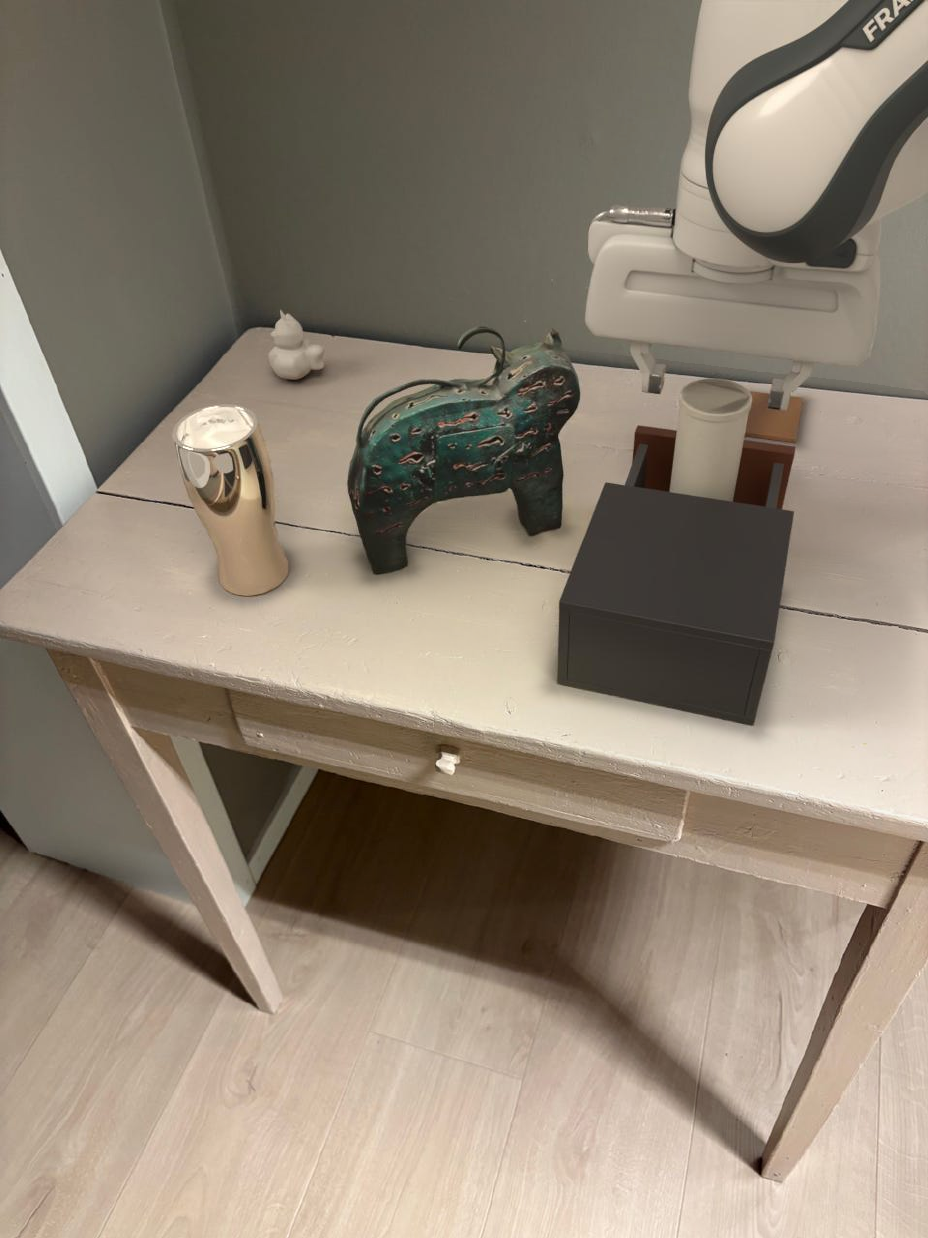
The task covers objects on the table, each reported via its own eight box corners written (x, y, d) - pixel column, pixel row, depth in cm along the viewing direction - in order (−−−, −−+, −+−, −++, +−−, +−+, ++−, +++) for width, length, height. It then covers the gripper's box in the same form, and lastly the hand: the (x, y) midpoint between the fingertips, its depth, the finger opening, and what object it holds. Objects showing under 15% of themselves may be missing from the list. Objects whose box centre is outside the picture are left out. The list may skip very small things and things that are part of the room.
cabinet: (600, 563, 83) (605, 481, 77) (774, 594, 79) (794, 510, 73) (556, 684, 73) (558, 601, 67) (753, 726, 69) (774, 642, 63)
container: (732, 515, 83) (756, 382, 74) (723, 554, 80) (747, 419, 71) (670, 505, 85) (686, 374, 76) (658, 543, 81) (674, 409, 72)
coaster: (802, 400, 99) (803, 397, 99) (795, 442, 94) (796, 439, 94) (724, 391, 102) (724, 387, 101) (712, 431, 96) (713, 428, 96)
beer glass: (307, 555, 85) (276, 408, 75) (271, 606, 81) (232, 458, 70) (238, 542, 87) (198, 397, 77) (199, 591, 83) (151, 444, 72)
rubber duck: (282, 361, 111) (269, 295, 105) (336, 366, 110) (325, 299, 104) (264, 385, 107) (249, 318, 102) (319, 390, 106) (307, 323, 100)
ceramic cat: (559, 496, 90) (564, 292, 76) (587, 537, 85) (598, 328, 71) (354, 547, 86) (319, 342, 72) (372, 593, 81) (338, 383, 68)
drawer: (641, 461, 92) (646, 399, 87) (786, 482, 88) (800, 419, 83) (598, 581, 80) (602, 516, 75) (764, 611, 76) (779, 545, 71)
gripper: (578, 220, 64) (571, 400, 74) (903, 248, 59) (850, 439, 69) (599, 185, 68) (590, 360, 78) (904, 209, 63) (854, 393, 73)
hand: (714, 397), depth 73 cm, fingers open, 8 cm apart
